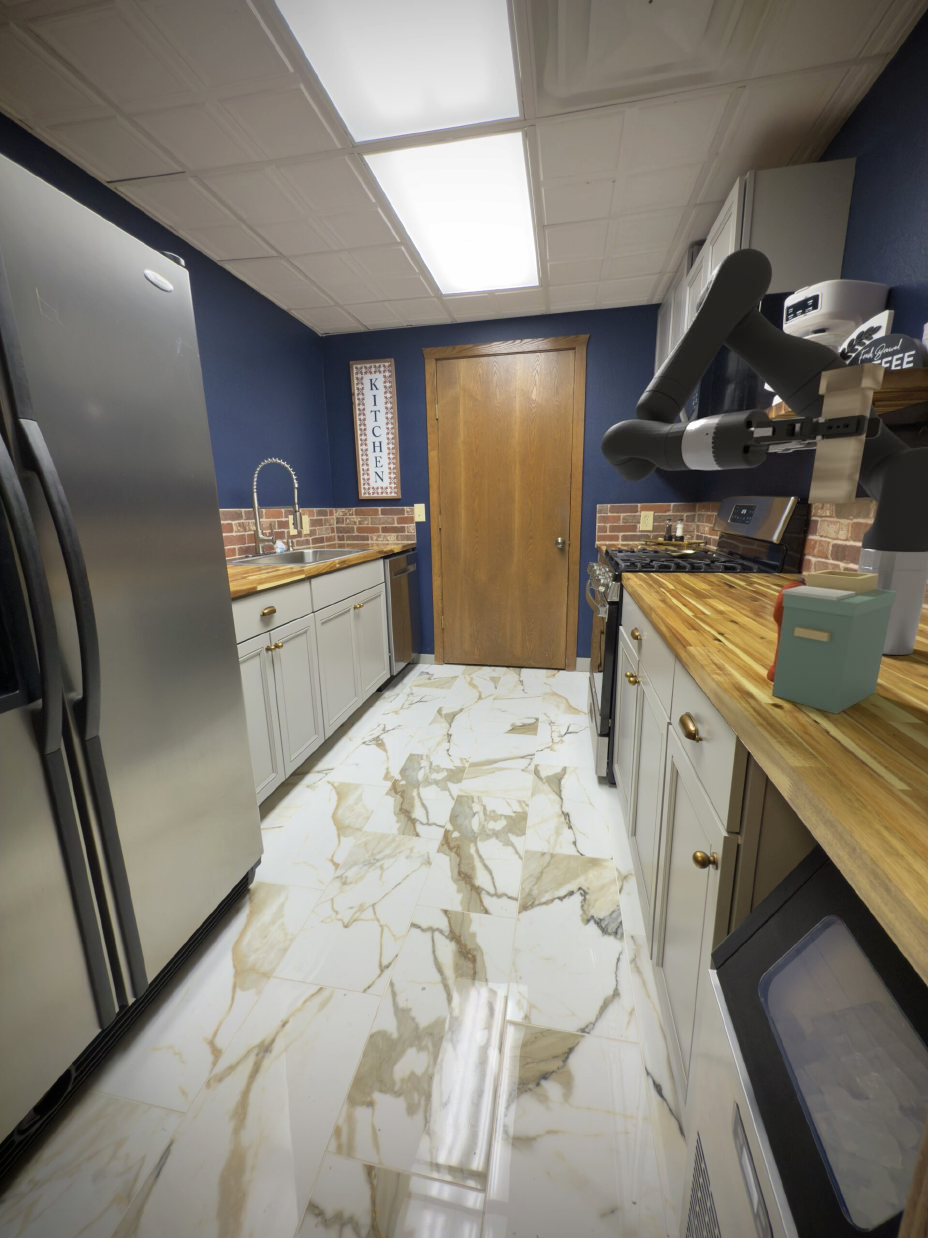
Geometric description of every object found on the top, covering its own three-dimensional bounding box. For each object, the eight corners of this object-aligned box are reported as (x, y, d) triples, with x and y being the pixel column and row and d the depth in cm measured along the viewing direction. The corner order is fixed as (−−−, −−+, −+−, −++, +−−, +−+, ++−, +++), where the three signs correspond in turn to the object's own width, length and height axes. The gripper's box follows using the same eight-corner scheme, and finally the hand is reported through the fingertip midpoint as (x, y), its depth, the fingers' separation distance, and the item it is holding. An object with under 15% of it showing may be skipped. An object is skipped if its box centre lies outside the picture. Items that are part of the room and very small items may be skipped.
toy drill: (814, 649, 83) (821, 562, 78) (802, 696, 69) (811, 593, 65) (780, 646, 86) (785, 561, 81) (762, 690, 72) (767, 591, 68)
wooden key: (815, 502, 63) (835, 375, 59) (860, 502, 59) (884, 366, 55) (802, 503, 61) (822, 371, 57) (848, 503, 57) (872, 362, 53)
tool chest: (812, 675, 74) (828, 569, 70) (878, 691, 67) (901, 575, 63) (765, 695, 66) (781, 578, 63) (834, 716, 60) (857, 586, 56)
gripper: (698, 409, 65) (852, 382, 51) (754, 417, 72) (903, 396, 58) (692, 468, 67) (840, 458, 53) (748, 470, 74) (890, 462, 60)
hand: (872, 426), depth 56 cm, fingers closed on wooden key, 3 cm apart
